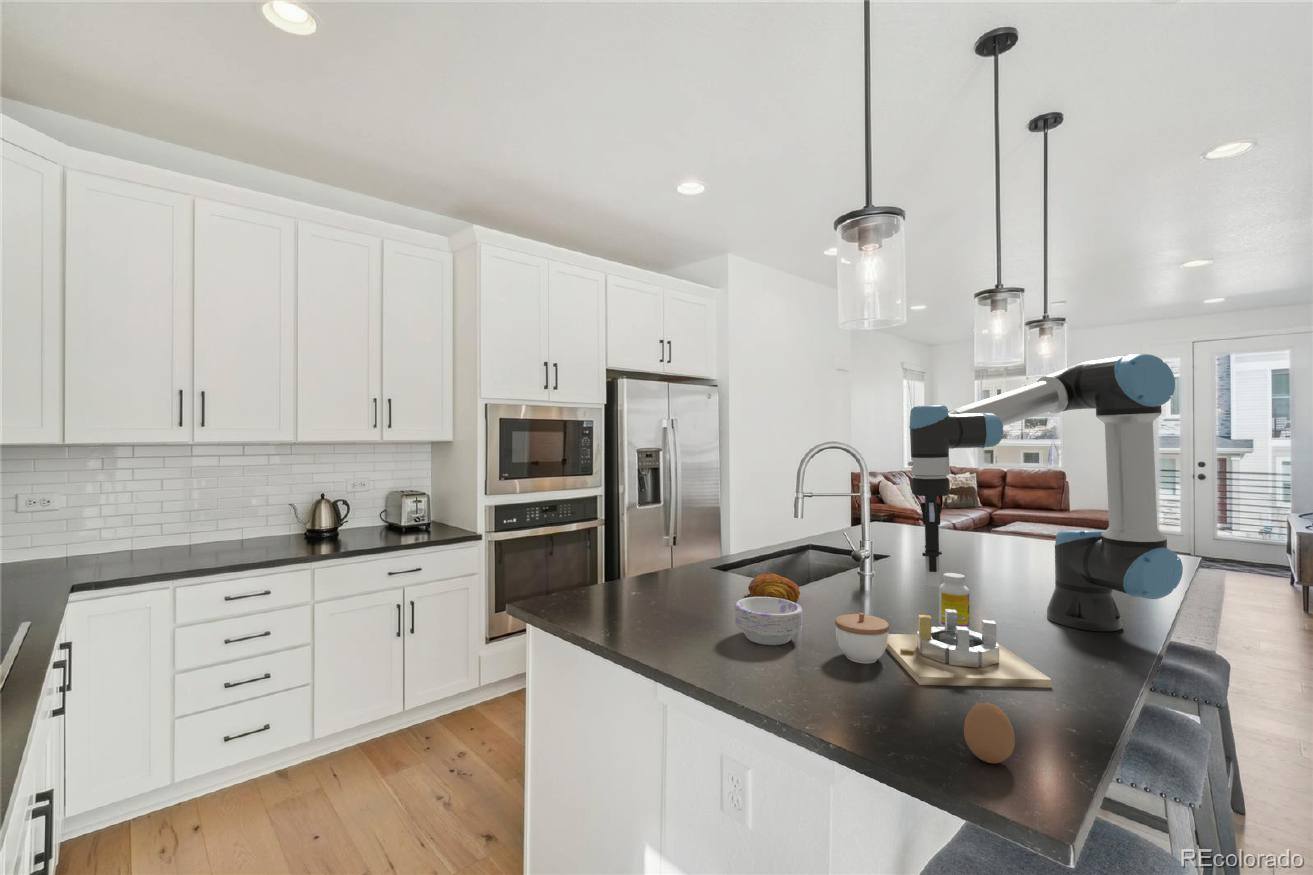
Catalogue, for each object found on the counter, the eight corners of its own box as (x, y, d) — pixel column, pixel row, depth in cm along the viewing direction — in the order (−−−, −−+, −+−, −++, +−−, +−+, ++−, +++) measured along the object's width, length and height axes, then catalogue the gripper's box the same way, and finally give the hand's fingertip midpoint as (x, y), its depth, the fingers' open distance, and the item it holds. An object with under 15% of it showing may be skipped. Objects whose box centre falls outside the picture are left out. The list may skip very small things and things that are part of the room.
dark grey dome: (965, 649, 126) (965, 632, 126) (979, 660, 120) (980, 643, 120) (934, 648, 127) (934, 632, 127) (947, 660, 120) (947, 642, 120)
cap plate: (987, 642, 134) (987, 632, 134) (1051, 687, 111) (1051, 675, 110) (878, 640, 136) (878, 630, 136) (919, 684, 112) (919, 672, 112)
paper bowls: (814, 638, 138) (814, 603, 138) (779, 656, 126) (779, 618, 126) (758, 623, 148) (758, 592, 148) (721, 639, 137) (721, 604, 137)
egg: (1009, 779, 81) (1009, 719, 81) (958, 761, 86) (958, 704, 86) (1019, 759, 86) (1019, 703, 86) (970, 744, 90) (970, 690, 90)
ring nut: (914, 637, 132) (914, 606, 132) (987, 644, 128) (987, 612, 128) (923, 662, 118) (923, 626, 118) (1005, 670, 114) (1005, 633, 114)
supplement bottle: (973, 633, 141) (973, 579, 141) (943, 631, 142) (943, 577, 142) (964, 624, 147) (964, 572, 147) (935, 622, 149) (935, 571, 148)
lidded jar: (862, 672, 118) (862, 624, 118) (824, 654, 128) (824, 610, 127) (900, 662, 123) (900, 616, 123) (860, 645, 132) (860, 603, 132)
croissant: (748, 613, 164) (747, 585, 163) (749, 590, 180) (748, 565, 178) (801, 614, 162) (801, 586, 161) (798, 591, 177) (797, 565, 176)
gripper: (911, 474, 136) (914, 577, 137) (911, 479, 124) (914, 592, 125) (947, 474, 133) (950, 579, 134) (951, 479, 121) (954, 595, 122)
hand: (932, 585), depth 129 cm, fingers closed
